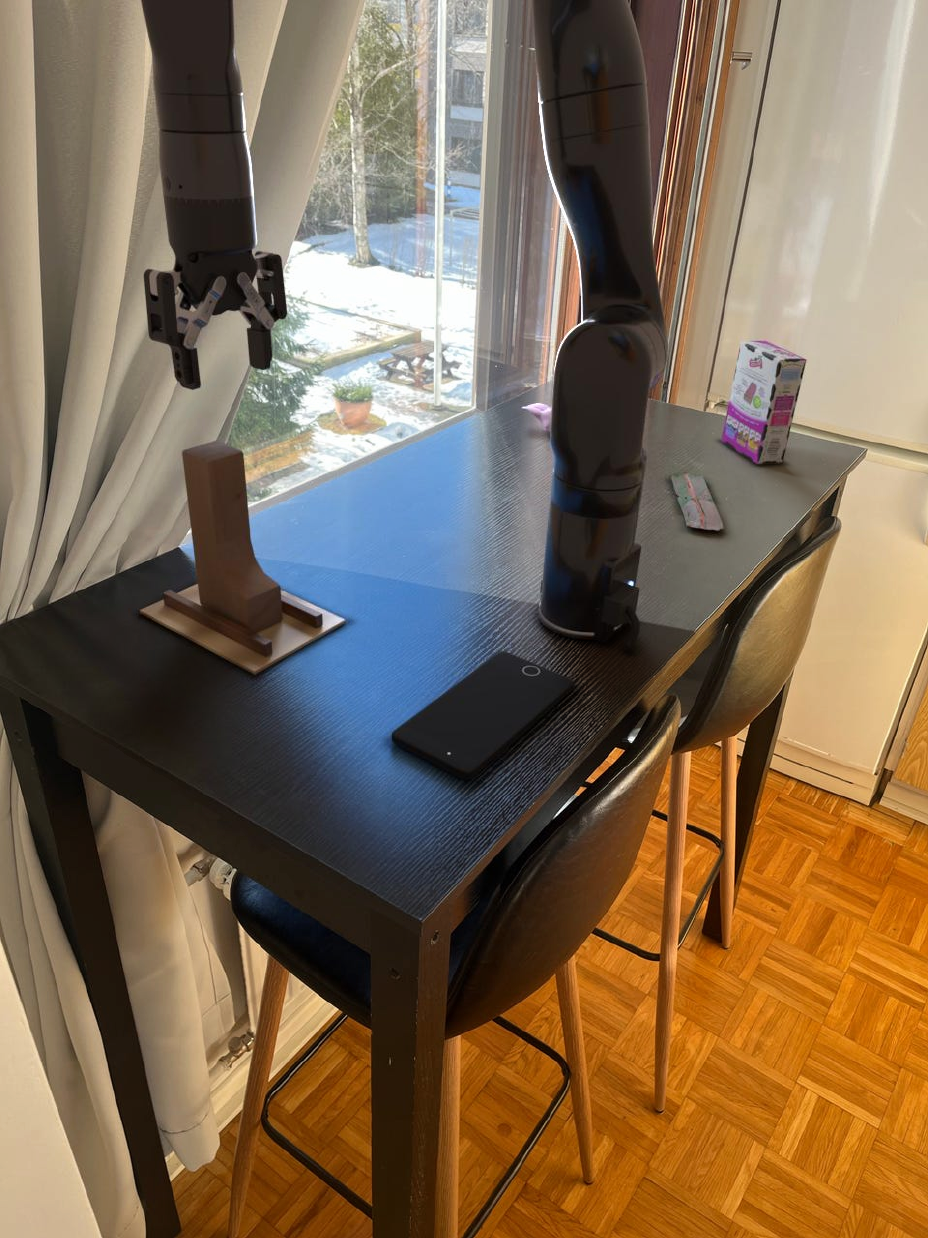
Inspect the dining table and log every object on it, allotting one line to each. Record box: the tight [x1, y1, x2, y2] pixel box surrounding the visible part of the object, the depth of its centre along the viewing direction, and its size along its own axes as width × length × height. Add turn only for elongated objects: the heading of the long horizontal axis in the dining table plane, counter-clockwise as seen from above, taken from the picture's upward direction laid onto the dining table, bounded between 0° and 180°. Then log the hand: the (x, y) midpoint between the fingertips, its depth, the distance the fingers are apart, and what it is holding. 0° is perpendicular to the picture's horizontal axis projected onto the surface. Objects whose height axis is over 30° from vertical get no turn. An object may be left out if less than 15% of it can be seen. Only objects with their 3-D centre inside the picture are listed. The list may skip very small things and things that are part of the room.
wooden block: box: [181, 440, 283, 633], centre depth 97 cm, size 9×4×18 cm, turn 48°
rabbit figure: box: [521, 402, 551, 433], centre depth 153 cm, size 6×6×15 cm
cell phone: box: [391, 650, 576, 781], centre depth 89 cm, size 9×18×1 cm, turn 144°
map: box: [670, 471, 724, 531], centre depth 133 cm, size 5×20×1 cm, turn 176°
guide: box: [139, 583, 346, 675], centre depth 102 cm, size 18×13×2 cm
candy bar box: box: [721, 340, 807, 466], centre depth 147 cm, size 11×5×16 cm, turn 17°
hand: (226, 377), depth 89 cm, fingers open, 8 cm apart
